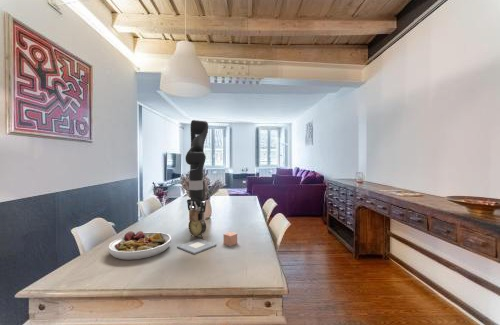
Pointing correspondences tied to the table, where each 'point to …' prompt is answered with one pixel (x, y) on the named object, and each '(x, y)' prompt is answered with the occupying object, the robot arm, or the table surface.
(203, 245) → the grey square plate
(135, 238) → the bowl
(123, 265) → the table surface
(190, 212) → the walnut block
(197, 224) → the alarm clock
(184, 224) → the table surface
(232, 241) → the terracotta block
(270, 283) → the table surface
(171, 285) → the table surface
